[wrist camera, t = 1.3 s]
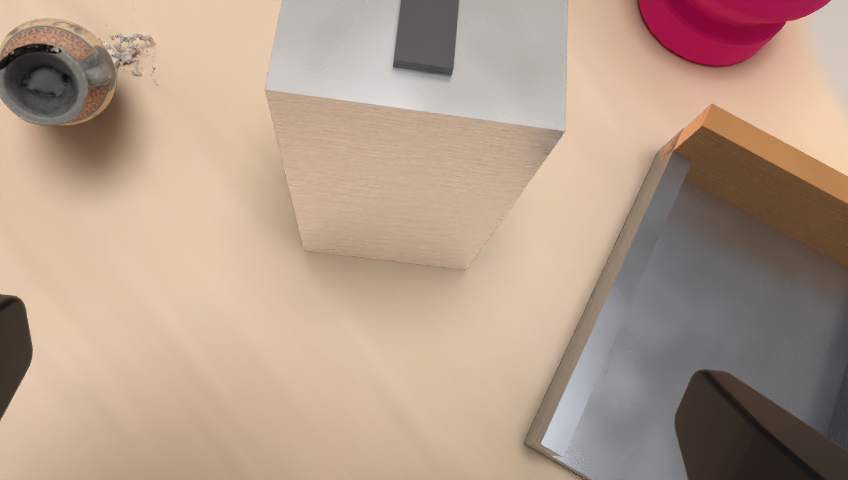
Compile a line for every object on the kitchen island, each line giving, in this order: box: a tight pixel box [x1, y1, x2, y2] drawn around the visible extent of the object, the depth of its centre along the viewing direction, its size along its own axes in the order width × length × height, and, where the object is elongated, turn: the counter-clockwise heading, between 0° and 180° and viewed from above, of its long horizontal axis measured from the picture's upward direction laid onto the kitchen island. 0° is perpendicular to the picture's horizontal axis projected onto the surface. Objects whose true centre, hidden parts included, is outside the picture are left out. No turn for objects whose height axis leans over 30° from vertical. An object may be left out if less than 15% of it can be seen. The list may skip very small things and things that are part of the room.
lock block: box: [265, 0, 568, 270], centre depth 18 cm, size 5×6×11 cm
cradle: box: [524, 104, 848, 480], centre depth 21 cm, size 13×10×4 cm
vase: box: [0, 7, 167, 182], centre depth 20 cm, size 5×5×6 cm
